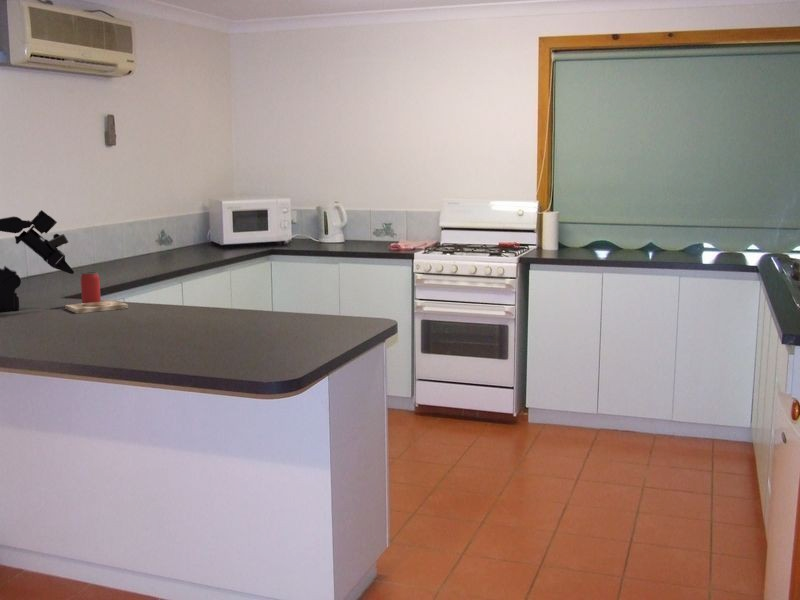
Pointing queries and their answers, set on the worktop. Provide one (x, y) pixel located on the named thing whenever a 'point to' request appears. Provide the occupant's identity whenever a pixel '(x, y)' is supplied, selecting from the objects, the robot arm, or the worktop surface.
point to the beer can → (90, 287)
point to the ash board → (96, 306)
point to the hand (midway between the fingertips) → (71, 272)
